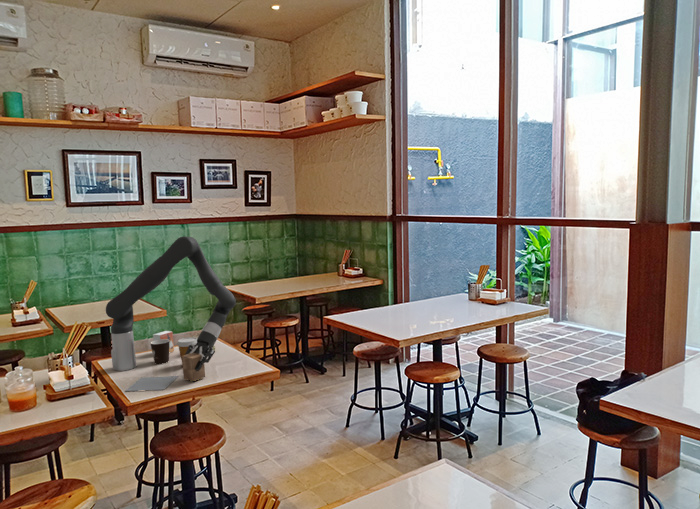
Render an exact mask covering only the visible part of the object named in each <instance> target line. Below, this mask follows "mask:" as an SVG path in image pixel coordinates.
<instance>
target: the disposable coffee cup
mask: <svg viewBox="0 0 700 509" xmlns="http://www.w3.org/2000/svg"><path fill="white" fill-rule="evenodd" d="M196 344H197V338H195V337H192V336H189V337H183V338H179V339H178V340H177V343H176V345H177V346H178V350H179V355H180V360H181V361H182V356H184V355H185V354H186V351H187V349H188V347H189V345H192V346H195V345H196Z"/></svg>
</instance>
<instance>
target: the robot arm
mask: <svg viewBox="0 0 700 509" xmlns="http://www.w3.org/2000/svg"><path fill="white" fill-rule="evenodd" d="M185 258H187V259H189V261H190V262H191V263H192V265H193V266H194V267H195V269H196V272H197V273H198V277H199V278H200V281H201V283H202V284H203V287H205V289H206V290H207V291H208V292H209V294H210V295H211V296H215V297H216V299H217V300H218V301H217V303H216V305H215V307H214V309H213V312H212V313H211V314H210V316H209V318H208V320H207V322H206V323H205V325H204V326H203V327H202V330H201V331H200V332H199V333H200V335H199V337H198V338H197V344H196V345H195V346H192V345H189V347H188V349H187V351H186V354H185V355H187V354H189V353H199V355H201V357H200V359H199V361H198V363H197V365H196V367H195V370H196V371H199V370H200V369H201V367H202V365H203V364H204V365H205V363H207V364H208V363H209V362H210V360H211V359H212V357H213V356H214V354H215V353H216V349H215V350H213V349H212V347H213V346H215V344H216V341H217V340H218V338H219V336H220V335H221V331H222V329H223V327H224V325H225V324H226V321H227V317H228V316H229V314H230V312H231V311H232V309H234V307H235V306H236V305H237V299H236V297H235V296H234V294H233V293H232V291H230V290H229V289H228V288H227V287H226V286H225V285H224V283H223V282H222V281H221V279H220V278H219V276H218V275H217V274H216V273H215V271H214V270H213V268H212V266H211V265H210V263H209V262H208V260H207V258H206V257H205V255H204V252H203V251H202V248H201V246H200V244H199V242H198V241H197V240H196V239H195V238H194V237H192V236H186V235H185V236H180V237H178V238H176V240H175V241H174V242H173V243H172V244H171V245H170V246H169V247H168V249H167V250H166V251H165V252H164V253H163V254H161V256H159V257H158V258H157V259H156V260H154V261H153V262H152V263H151V264H150V265H149V266H147V267H146V268H145V269H144V270H143V271H142V272H141V273H139V275H137V277H136V278H135V279H133V281H132V282H131V283H130V284H129V285H128V286H127V287H126V288H125V289H124V290H123V291H122V292H120V293H119V294H117V295H116V296H115V297H114V298H111V299H110V300H109V301H108V302H107V304H106V305H105V313H106V316H107V317H108V318H110V319H112V321H113V322H112V325H111V326H110V334H111V344H112V349H111V351H110V354H111V363H112V364H111V365H112V370H113V371H117V372H123V371H130V370H132V369H135V368H136V367H137V359H136V358H137V357H136V349H135V341H134V340H135V339H134V329H133V327H134V321H135V320H134V308H133V306H134V304H136V302H138V301H139V300H140V299H142V298H144V297H145V296H147V295H148V294H149V293H151V292H153V291H154V290H155V289H156V288H158V286H160V285H161V284H162V283H163V282H164V281H165V279H166V278H167V277H168V276H169V275H170V273H171V271H172V270H173V268H174V267H175V266H177V265H178V263H180V262H181V261H182V260H184V259H185ZM203 354H204V355H203Z"/></svg>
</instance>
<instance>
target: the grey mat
mask: <svg viewBox="0 0 700 509" xmlns="http://www.w3.org/2000/svg"><path fill="white" fill-rule="evenodd" d="M178 377H179V376H178V375H168V376H167V375H163V376H143V377H140V378H138V380H136V381H135V382H134V383H132V384H131V385H130V386H129V387H127V388H126V389H125V390H124V392H125V391H132V392H139V391H138V390H154V391H165V390H166V389H167V388H168V387H170V385H171V384H172V383H173V382H174V381H176V379H177V378H178ZM166 387H167V388H166ZM165 388H166V389H165ZM162 389H163V390H162ZM164 389H165V390H164Z"/></svg>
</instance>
